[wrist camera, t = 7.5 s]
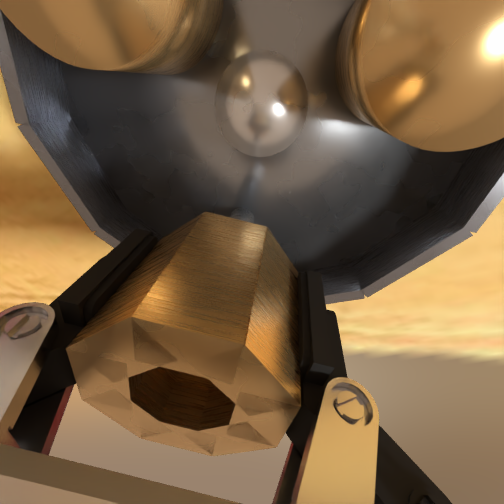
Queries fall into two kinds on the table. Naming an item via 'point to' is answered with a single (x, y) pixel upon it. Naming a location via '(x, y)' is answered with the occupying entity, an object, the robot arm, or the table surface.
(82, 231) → the table surface
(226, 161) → the tray
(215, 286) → the tan hollow faceted cylinder
